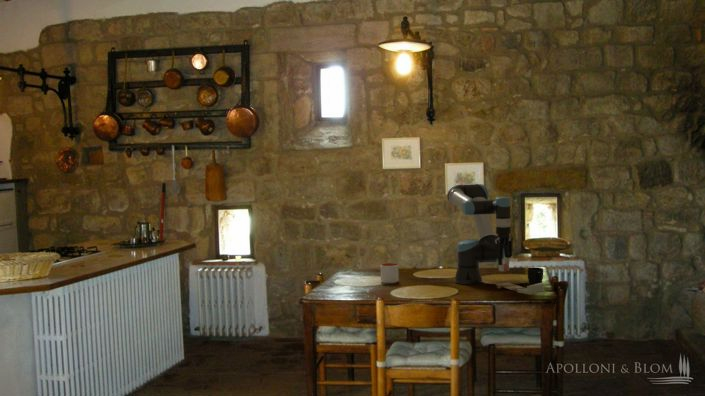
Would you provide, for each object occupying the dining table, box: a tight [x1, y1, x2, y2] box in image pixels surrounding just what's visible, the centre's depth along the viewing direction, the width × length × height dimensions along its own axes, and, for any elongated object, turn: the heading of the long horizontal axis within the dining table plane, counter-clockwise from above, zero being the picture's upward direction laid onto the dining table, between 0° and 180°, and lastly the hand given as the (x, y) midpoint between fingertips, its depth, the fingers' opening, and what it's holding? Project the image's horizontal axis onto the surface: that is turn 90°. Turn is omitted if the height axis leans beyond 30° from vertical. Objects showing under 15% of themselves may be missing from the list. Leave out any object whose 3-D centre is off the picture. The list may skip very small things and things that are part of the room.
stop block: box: [516, 282, 544, 295], centre depth 345 cm, size 8×11×4 cm
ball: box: [503, 264, 509, 272], centre depth 356 cm, size 4×4×4 cm
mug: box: [526, 266, 544, 286], centre depth 356 cm, size 8×12×10 cm
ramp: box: [495, 280, 527, 292], centre depth 354 cm, size 15×7×3 cm, turn 40°
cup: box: [379, 262, 399, 284], centre depth 381 cm, size 10×10×10 cm
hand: (504, 270), depth 357 cm, fingers closed on ball, 4 cm apart
